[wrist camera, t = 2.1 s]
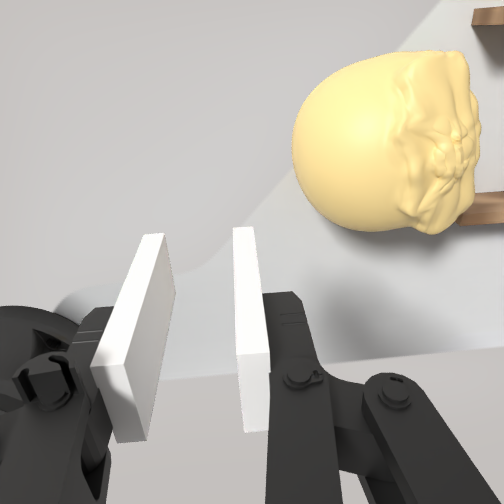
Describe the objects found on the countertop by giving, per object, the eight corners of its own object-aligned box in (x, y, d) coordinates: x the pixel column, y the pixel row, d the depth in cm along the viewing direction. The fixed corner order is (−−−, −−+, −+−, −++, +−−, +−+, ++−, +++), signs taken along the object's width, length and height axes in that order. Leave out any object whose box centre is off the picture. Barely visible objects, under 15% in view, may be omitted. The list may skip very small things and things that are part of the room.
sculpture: (440, 173, 34) (522, 229, 24) (304, 216, 35) (333, 285, 25) (426, 26, 28) (527, 24, 19) (266, 84, 29) (285, 110, 20)
